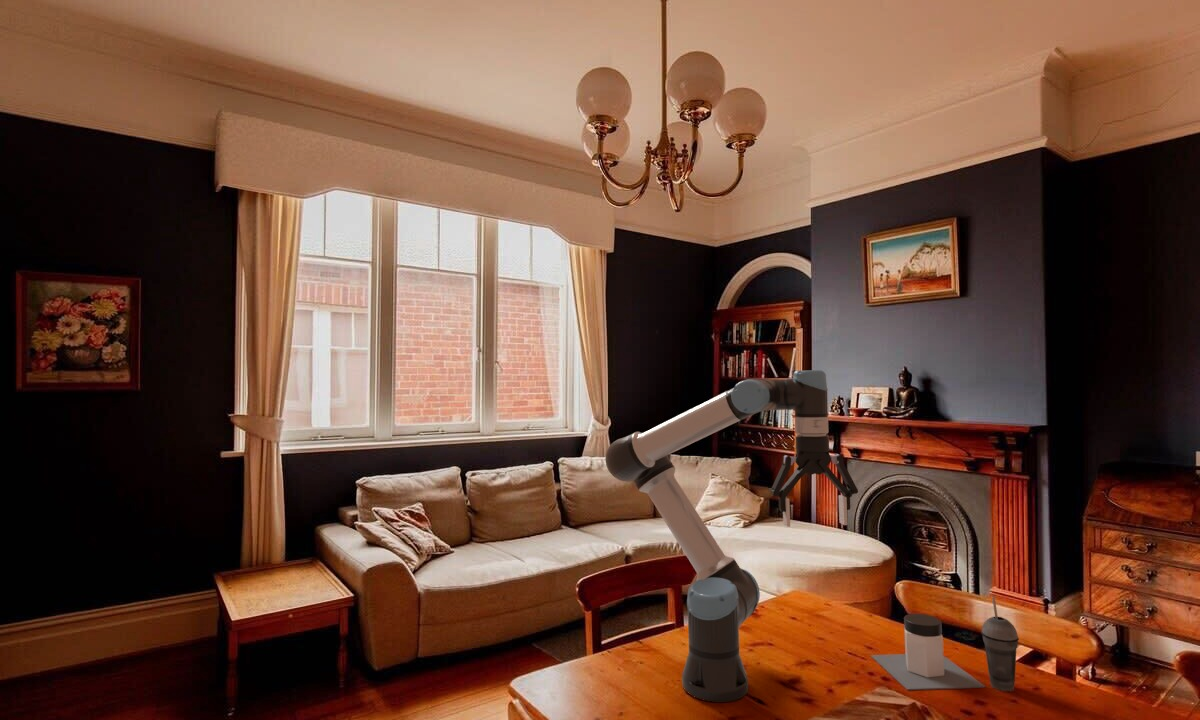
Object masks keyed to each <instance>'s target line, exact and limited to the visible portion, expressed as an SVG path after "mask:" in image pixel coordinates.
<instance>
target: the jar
mask: <svg viewBox="0 0 1200 720" xmlns="http://www.w3.org/2000/svg"><path fill="white" fill-rule="evenodd" d="M903 625H904V648H905V649H904V650H905V651H904V652H905V653H904V654H906V665H907V669H908V671H909V672H912V673H915V674H918V675H921V676H924V677H927V678H928V677H937V676H944V656H945V655H944V640H943V639H944V637H943V634H942V633H943V628H942V627H943V626H942V621H941V620H940V618H939V619H938V618H937V617H935V616H932V615H930V614H925V613H910V614H909V613H908V614H907V615H906V614H905V616H904V617H903ZM943 655H944V656H943Z"/></svg>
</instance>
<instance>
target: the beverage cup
mask: <svg viewBox="0 0 1200 720" xmlns="http://www.w3.org/2000/svg"><path fill="white" fill-rule="evenodd" d="M991 598H992V604H993V612H994V613H993V614H994V616H991V617H989V618H987V619H985V621H984V622H983V624H982V627H981V628H982V629H981V635H982V641H983V643H984V648H985V657H986V663H987V669H988V676H989V680H990V687H991V688H994V689H995V690H997V689H998V691H1000V690H1001V691H1002V692H1006V691H1010V692H1014V690H1015V683H1016V664H1017V663H1016V662H1017V649H1018V645H1019V635H1018V632H1017V630H1016V627H1015V626H1014V624H1013V623H1012V622H1011V621H1010V620H1008V619H1007V618H1004V617H1002V616H998V611H997V609H998V608H997V602H996V597H995V596H994V595H993V596H991ZM1001 691H1000V692H1001Z"/></svg>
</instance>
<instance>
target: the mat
mask: <svg viewBox="0 0 1200 720" xmlns="http://www.w3.org/2000/svg"><path fill="white" fill-rule="evenodd" d="M943 656H944V676H937V677H928V678H927V677H924V676H921V675H918V674H915V673H912V672H909V671H908V669H907V665H906V654H905V653H901V654H900V653H898V654H897V653H895V654H871V655H870V657H871V658H872V659H873V661H875V662H876V663H878V664H879V666H881V667H882V669H884V670H885V671H886V672H887V673H888V674H889V675H891V677H892V678H894V680H896V681H897V682H898V683H899V684H900V685H901V686H902V687H904V688H905V690H907V691H925V690H950V689H953V690H954V689H955V690H956V689H977V688H978V689H981V688H986V686H985V685H984V684H983V683H981V681H979V680H977V679H976V678H974V677H973V676H972V675H971V674H970V673H968V672H967V671H965V670H964V669H963V668H961V667H960V666H958V665H957V664H956V663H955V662H953V661H952V660H950V659H949V658H948V657H946V656H945V655H944V654H943Z"/></svg>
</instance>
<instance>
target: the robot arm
mask: <svg viewBox="0 0 1200 720" xmlns="http://www.w3.org/2000/svg"><path fill="white" fill-rule="evenodd" d="M828 408H829V407H828V386H827V374H826V373H825V371H824V370H820V369H816V370H815V369H814V370H813V369H812V370H795V371H794V372H793V376H792V378H787V379H784V378H783V379H780V378H779V379H776V378H773V379H761V378H758V379H755V378H748V379H744V380H741V381H739V382H738V383H736V384H735V385H734V387H732V388H730V389H729V390H725V391H724V392H722V393H720V394H717V395H716V396H714V397H712V398H710V399H709V400H707V401H704V402H703V403H701V404H698V405H696V406H694V407H692V408H690V409H688V410H686V411H684V412H682V413H680V414H677V415H676V416H674V417H672V418H670V419H668V420H665V421H664V422H662V423H660V424H658V425H656V426H654V427H652V428H651V429H649V430H646V431H644V432H640V431H635V432H633V433H631V434H629V435H626V436H624V437H622V438H618V439H616V440H615V441H613V442H612V443H611V444H610V445H609V447H608V448H607V450H606V453H605V465H606V468H607V470H608V472H609V473H610V475H611V476H613V477H614V478H615V479H616V480H618V481H621V482H626V483H627V482H628V483H629V482H633V483H634V485H635V487H636V488H637V490H638V491H639V492H640V493H645V494H647V495H648V497H649V499H650V500H651V502H652V503H653V504H654V506H655V508H656V509H657V511H658V514H660V516H661V518H662V519H663V521H664V522H665V524H666V526H667V528H668V529H669V530H670V532H671V534H672V535H673V537H674V538H675V540H676V542H677V543H678V545H679V547H680V548H681V550H682V551H683V553H684V554H685V555H684V556H686V558H687V560H689V562H690V564H691V566H692V567H693V569H694V570H695V572H696V578H695V579H696V580H695V581H694V582H693V583H691V585H689V587H688V590H687V598H686V606H687V607H686V608H687V627H688V629H687V630H688V632H687V633H688V653H687V656H686V660H685V664H684V667H683V671H682V675H681V678H682V679H681V682H682V683H681V684H683V686H682V688H683V687H684V688H685V690H686V691H687V692H689V693H690V694H691V695H693V696H695V697H698V698H700V699H699V700H701V699H704V700H703V701H705V700H707V701H706V702H710V701H712V702H713V703H726V702H727V703H728V702H734V701H737V700H739V699H742V698H743V697H745V696H746V695H747V693H748V691H749V679H748V675H747V672H746V669H745V667H744V664H743V660H742V658H741V655H740V627H741V626H742V625H743V623H744V622H745V621H746V620H747V619H748V618H750V617H751V616H752V615H753V614H754V612H755V611H756V608H757V606H758V605H759V602H760V595H761V592H760V587H759V584H758V581H757V579H756V578H755V577H754V576H753V575H752V573H750V572H749V571H748V570H747V569H743V568H742V567H740V566H739V563H738V562H737V561H736V559H735V558H734V557H731V556H727V555H726V554H725V553H724V552H723V550H722V549H721V547H720V545H719V544H718V543H717V541H716V539H715V538H714V535H712V533H711V532H710V530H709V529H708V527H707V526H706V524H705V522H704V520H702V518H701V516H700V514H699V512H697V510H696V508H695V507H694V505H693V504H692V502H691V500H690V499H689V497H688V496H687V494H686V493H685V491H684V490H683V488H682V486H681V485H680V483H679V482H678V481H677V478H676V477H675V473H676V467H675V465H674V464H673V462H672V461H671V457H672V453H675V452H677V451H679V450H682V449H683V448H685V447H687V446H690V445H691V444H693V443H695V442H696V443H697V442H698V441H700V440H702V439H704V438H707V437H708V436H710V435H712V434H714V433H717V432H719V431H722V430H723V429H725V428H727V427H729V426H732V425H733V424H735V423H737V422H740V421H742V420H745V419H747V418H749V417H751V416H753V415H755V414H758V413H760V412H765V411H778V410H779V411H783V410H784V411H786V410H787V411H791V410H793V411H794V424H795V425H794V429H795V430H794V431H795V433H796V434H797V436H795V451H796V452H795V453H796V454H795V456H790V455H786V454H784V455H783V456H782V463H781V467H780V468H779V471H778V473H777V476H776V478H775V480H774V482H773V485H772V486H771V489H770V494H771V495H773V496H774V497H775V496H776V497H777V499H778V509H779V511H780V512H781V513H782V518H783V519H782V521H783V523H782V525H784V526H785V527H787V528H788V527H791V509H790V504H791V503H790V498H788V497H787V496H788V495H789V494H790V493H791V491H792V490H793V489H794V488H795V486H796V485H797V483H798V482H799V481H800V479H801V478H802V477H804V476H805V475H822V474H823V475H824V476H826V477H827V479H828V480H829V481H830V482H831V483H832V484H833V486H835V488H836V489H837V491H839V493H840V494H841V495H840V494H839V495H838V517H839V519H838V520H839V523H840V524H841V525H843V526H848V511H850V510H851V498H852V496H853V495H857V494H858V492H859V489H858V488H857V486H856V484H855V482H854V480H853V478H852V477H851V474H850V472H849V471H848V468H847V467H846V465H845V461H844V456H843V455H842V454H839V453H835V454H834V455H830V437H829V435H827V434H828V433H829V414H828V413H829V411H828V410H829V409H828ZM831 462H832V463H833V464H834V465H835V467H836V469H837V470H838V473H839V474H840V476H841V478H842V480H843V482H844V484H843V482H842V481H841V480H840V479H839V478H838V476H836V475H835V473H833V470H832V469H831V468H830V467H829V465H830V463H831ZM794 463H796V465H797V467H796V468H795V469H794V471H793V473H792V475H791V476H790V477H789V478H788V480H787V481H786V482H785V480H786V478H787V476H788V473H789V471H790V469H791V466H793V465H794ZM685 690H684V691H685ZM686 691H685V692H686ZM687 692H686V693H687ZM691 695H690V696H691ZM693 696H692V697H693ZM695 697H694V698H695ZM698 698H697V699H698ZM712 702H711V703H712Z"/></svg>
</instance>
